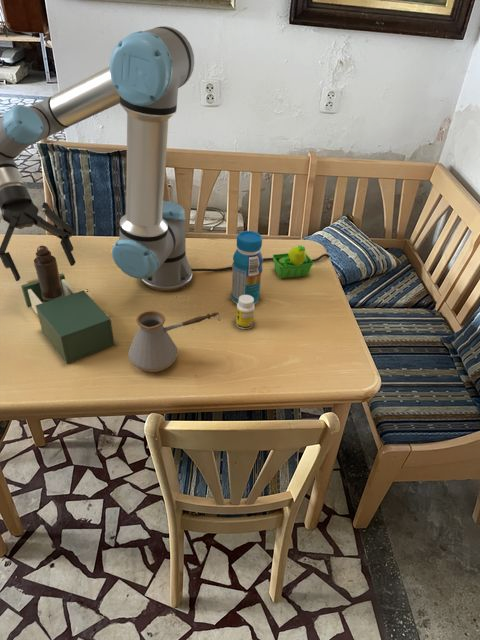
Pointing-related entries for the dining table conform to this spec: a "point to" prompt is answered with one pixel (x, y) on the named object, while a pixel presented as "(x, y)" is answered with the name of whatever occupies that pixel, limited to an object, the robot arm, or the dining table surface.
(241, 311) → the supplement bottle
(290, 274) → the fruit basket
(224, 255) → the dining table surface
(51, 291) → the pepper mill
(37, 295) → the drawer
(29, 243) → the dining table surface
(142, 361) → the coffee pot
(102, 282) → the dining table surface
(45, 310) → the cabinet
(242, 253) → the beverage bottle
